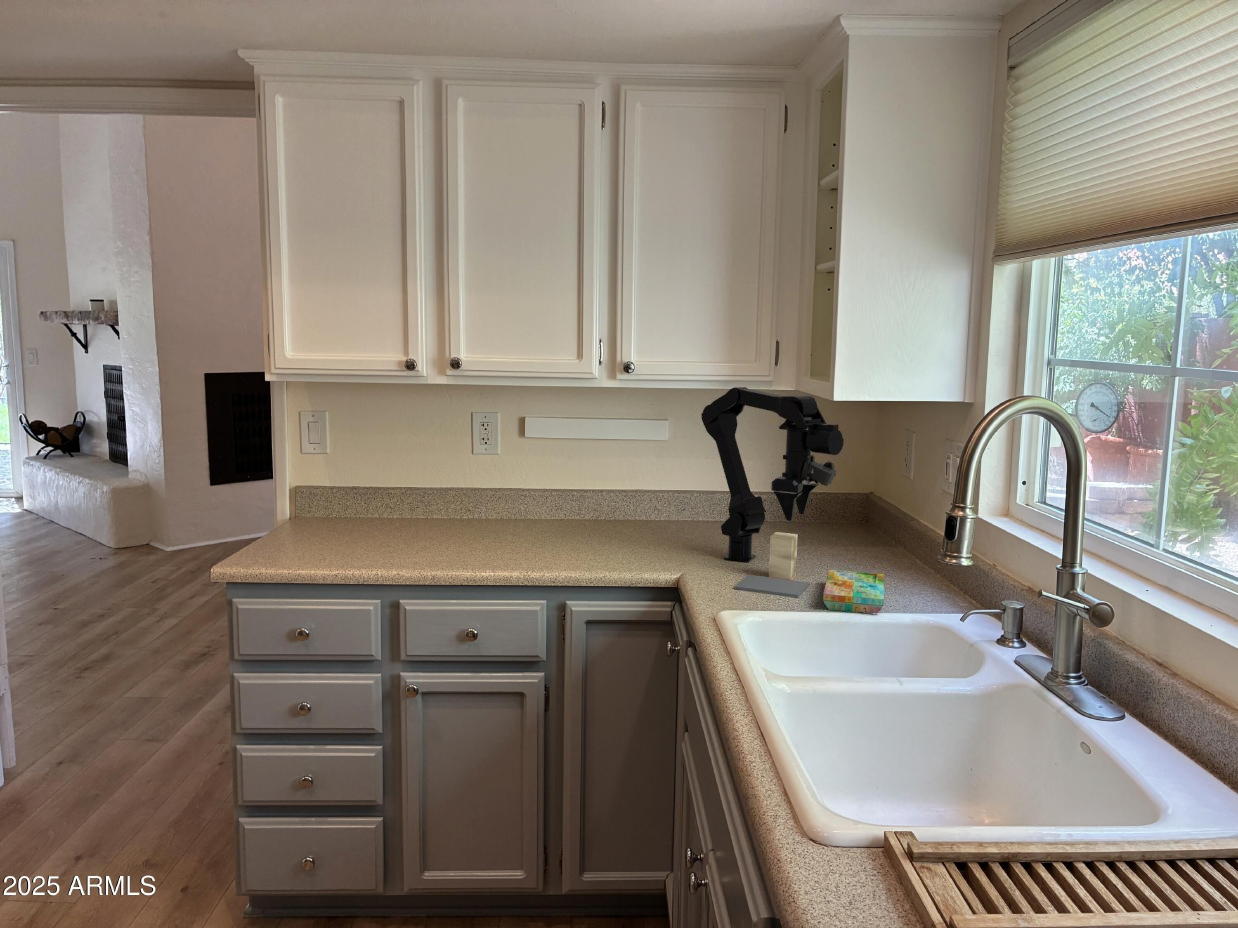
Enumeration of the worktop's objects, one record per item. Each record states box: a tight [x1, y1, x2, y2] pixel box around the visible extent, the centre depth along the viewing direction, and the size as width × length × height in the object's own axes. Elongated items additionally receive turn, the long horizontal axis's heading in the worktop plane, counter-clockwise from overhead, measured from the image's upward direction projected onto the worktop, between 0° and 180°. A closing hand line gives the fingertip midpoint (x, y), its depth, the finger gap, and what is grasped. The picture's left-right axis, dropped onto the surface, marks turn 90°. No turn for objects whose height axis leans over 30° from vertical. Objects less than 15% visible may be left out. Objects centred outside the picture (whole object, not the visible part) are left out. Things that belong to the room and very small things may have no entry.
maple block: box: [768, 531, 798, 580], centre depth 210 cm, size 5×5×10 cm
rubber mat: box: [734, 574, 811, 599], centre depth 203 cm, size 11×14×1 cm
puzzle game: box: [822, 569, 885, 614], centre depth 194 cm, size 12×5×20 cm
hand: (795, 517), depth 214 cm, fingers open, 9 cm apart
